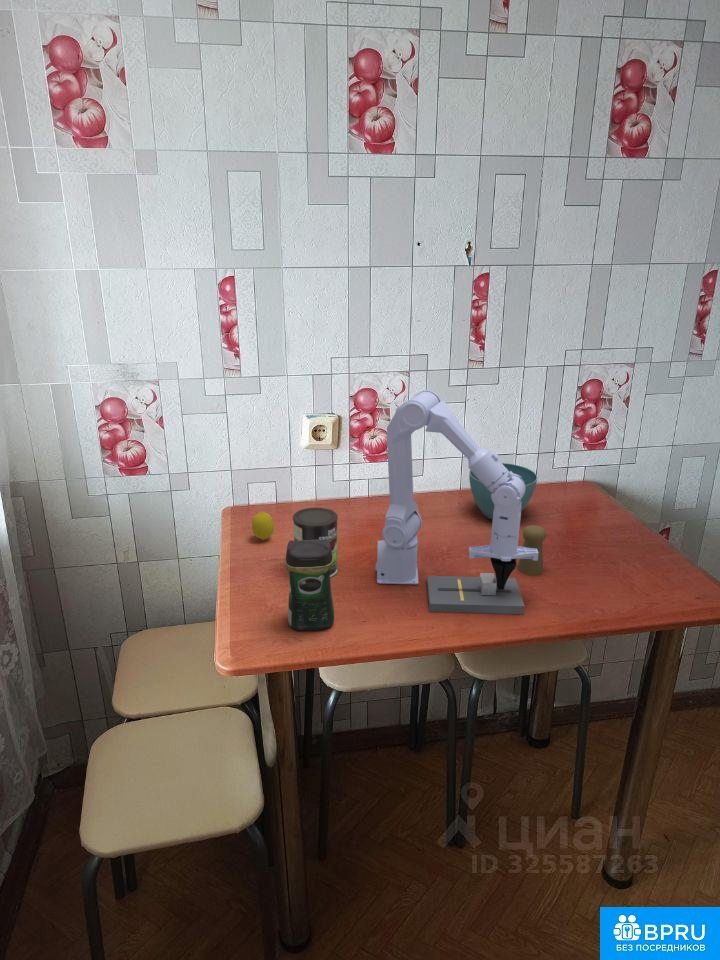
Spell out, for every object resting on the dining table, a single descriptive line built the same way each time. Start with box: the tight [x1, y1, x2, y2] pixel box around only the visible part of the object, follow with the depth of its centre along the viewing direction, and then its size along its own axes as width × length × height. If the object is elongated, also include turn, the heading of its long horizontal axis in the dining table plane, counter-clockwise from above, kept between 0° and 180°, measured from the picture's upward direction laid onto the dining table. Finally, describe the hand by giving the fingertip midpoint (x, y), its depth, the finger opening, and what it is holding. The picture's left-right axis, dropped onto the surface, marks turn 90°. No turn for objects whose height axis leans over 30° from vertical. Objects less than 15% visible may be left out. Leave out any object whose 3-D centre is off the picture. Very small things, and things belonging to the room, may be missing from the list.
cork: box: [517, 524, 547, 576], centre depth 170 cm, size 6×6×11 cm
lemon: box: [251, 510, 275, 541], centre depth 184 cm, size 6×6×8 cm
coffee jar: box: [284, 539, 335, 631], centre depth 147 cm, size 10×8×19 cm
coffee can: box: [292, 507, 338, 579], centre depth 168 cm, size 10×10×14 cm
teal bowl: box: [468, 462, 538, 521], centre depth 198 cm, size 18×18×12 cm
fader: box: [479, 572, 497, 595], centre depth 158 cm, size 3×4×3 cm
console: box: [426, 575, 526, 615], centre depth 159 cm, size 20×12×2 cm, turn 88°
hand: (500, 587), depth 158 cm, fingers closed
